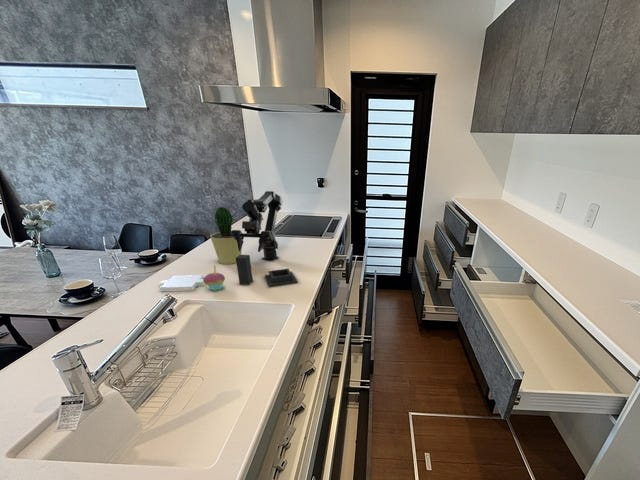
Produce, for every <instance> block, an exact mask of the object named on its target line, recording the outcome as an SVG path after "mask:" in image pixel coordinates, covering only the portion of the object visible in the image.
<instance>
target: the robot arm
mask: <svg viewBox="0 0 640 480" xmlns="http://www.w3.org/2000/svg"><path fill="white" fill-rule="evenodd" d="M283 204H284V200H283V197H282V196H280V195H279V194H277V193H276V192H275V191H273V190H267V191H264V194H262V195H261V196H260V197H259V198H258V199H247V201H245V202H244V203H243V204H242V205H241V208H242V211H243V212H244V213H245V215H246V216H247V217H248V218H249V219H248V221H247V220H246V221H245V220H243V221H241V229H243V230H244V232H242V230H240V229H231V236H232V237H233V238H234V239H235V240H237V244H238V250H239V251H241V252H242V248H243V244H244V238H254V239H255V238H256V239H257V238H258V248H257V252H258V253H260V252H261V251H262V250H263V257H262V258H261V259H262V260H265V261H269V262H272V261H274V260H277V259H279V256H278V254H277V250H278V249H279V243H278V241H277V240H276V236H275V233H274V232H275V226H276V222H277V216H278V212H279V211H281V210H282V206H283ZM267 210H268V212H267ZM266 212H267V217H266V222H265V228H264V230H262V221H264V217H263V214H262V213H264V214H265V213H266ZM261 230H262V231H261Z"/></svg>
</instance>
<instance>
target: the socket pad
mask: <svg viewBox="0 0 640 480" xmlns="http://www.w3.org/2000/svg"><path fill="white" fill-rule="evenodd" d="M264 278H265V280H266V283H267V286H268V288H274V287H281V286H287V285H292V284H298V279H297V278H296V276H295V274H294V273H293V271H291V270H290V269H289V268H282V269H276V270H275V269H274V270H268V274H265V275H264Z"/></svg>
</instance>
